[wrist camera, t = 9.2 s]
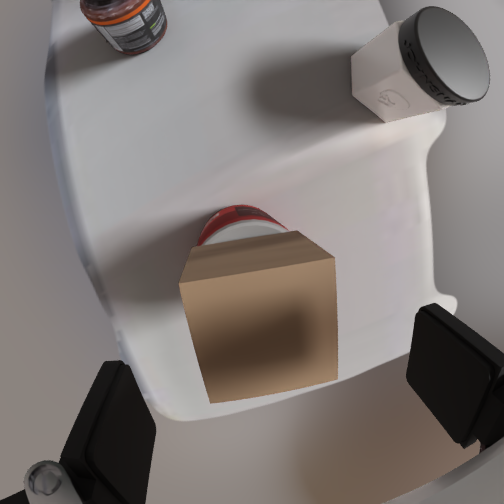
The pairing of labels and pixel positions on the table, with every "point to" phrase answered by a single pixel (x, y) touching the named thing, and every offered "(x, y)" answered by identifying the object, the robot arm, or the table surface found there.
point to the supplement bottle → (127, 22)
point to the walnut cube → (262, 315)
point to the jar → (420, 66)
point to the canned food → (239, 225)
